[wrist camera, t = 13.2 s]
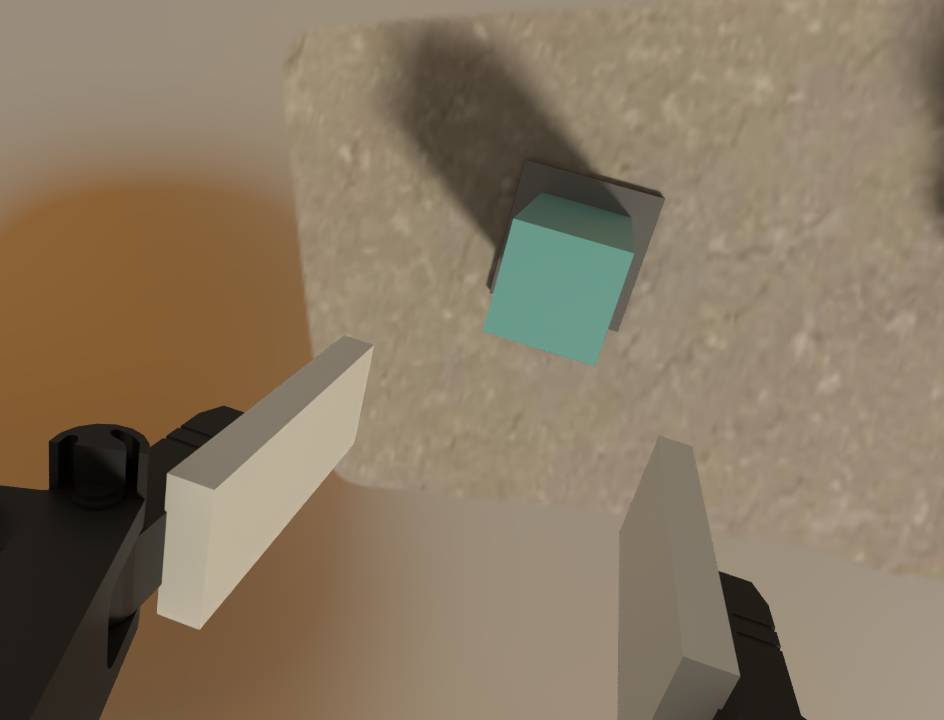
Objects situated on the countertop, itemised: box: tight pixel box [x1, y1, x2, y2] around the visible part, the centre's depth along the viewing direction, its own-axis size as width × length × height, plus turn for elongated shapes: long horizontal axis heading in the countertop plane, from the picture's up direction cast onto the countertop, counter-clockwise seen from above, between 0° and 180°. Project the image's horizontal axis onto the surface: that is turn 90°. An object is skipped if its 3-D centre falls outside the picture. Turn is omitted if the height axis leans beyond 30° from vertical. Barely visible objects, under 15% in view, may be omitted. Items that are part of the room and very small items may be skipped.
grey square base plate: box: [490, 160, 665, 332], centre depth 35 cm, size 8×8×7 cm
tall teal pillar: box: [483, 192, 634, 366], centre depth 33 cm, size 5×5×11 cm
